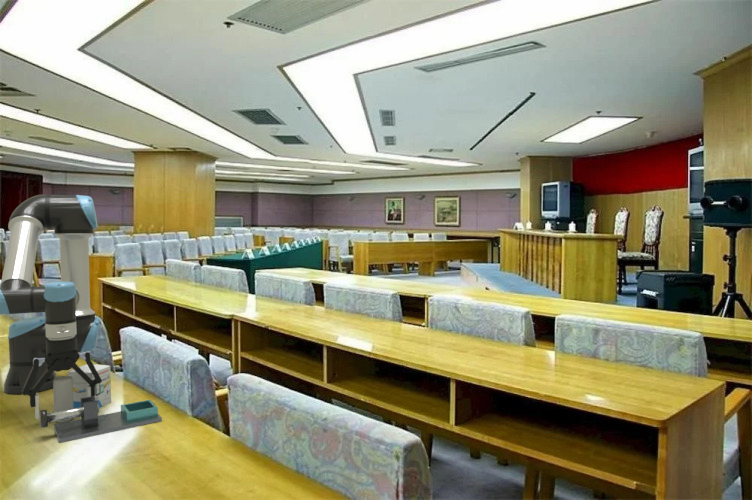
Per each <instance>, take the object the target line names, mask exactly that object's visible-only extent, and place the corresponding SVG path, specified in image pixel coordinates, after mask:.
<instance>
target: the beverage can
mask: <svg viewBox="0 0 752 500" xmlns="http://www.w3.org/2000/svg"><path fill="white" fill-rule="evenodd" d="M53 380H54V381H53V387H52V393H53V394H52V395H53V397H52V398H53V412H57V411H63V410H68V409H74V407H73V379H72V377H71V376H68V375H61V376H57V378H54V379H53ZM73 419H74V418H70V419H65V420H60V421H55V423H57V424H58V423H63V422H69V421H73Z"/></svg>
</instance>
